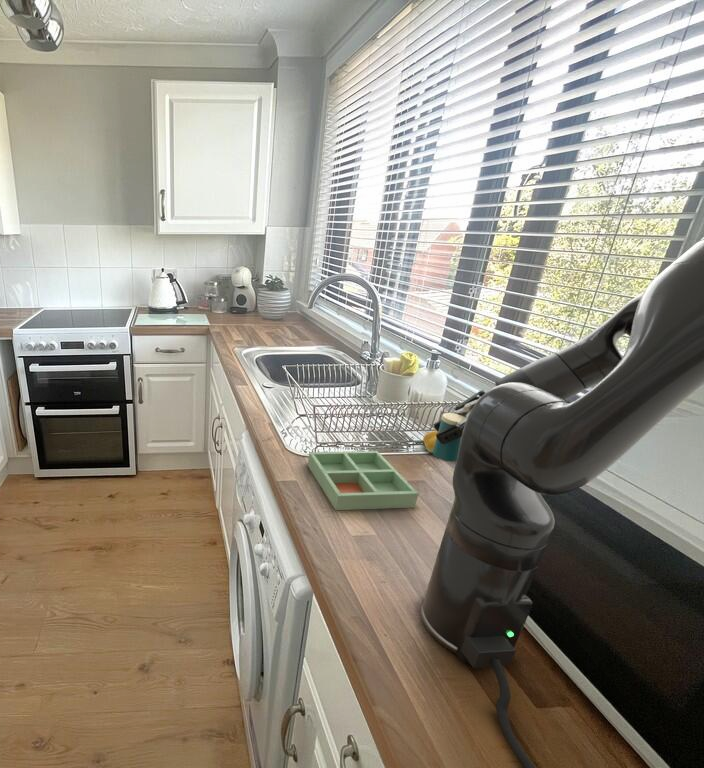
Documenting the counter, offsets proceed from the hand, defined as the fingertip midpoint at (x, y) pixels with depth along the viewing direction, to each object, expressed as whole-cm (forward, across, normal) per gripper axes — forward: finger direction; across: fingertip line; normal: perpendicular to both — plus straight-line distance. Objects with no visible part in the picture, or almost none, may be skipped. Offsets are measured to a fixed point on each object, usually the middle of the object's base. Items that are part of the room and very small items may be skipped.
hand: (438, 434), depth 78 cm
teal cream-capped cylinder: (+2, 0, -4) cm, 4 cm away
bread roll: (+6, +21, -13) cm, 25 cm away
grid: (+18, -3, -1) cm, 18 cm away
